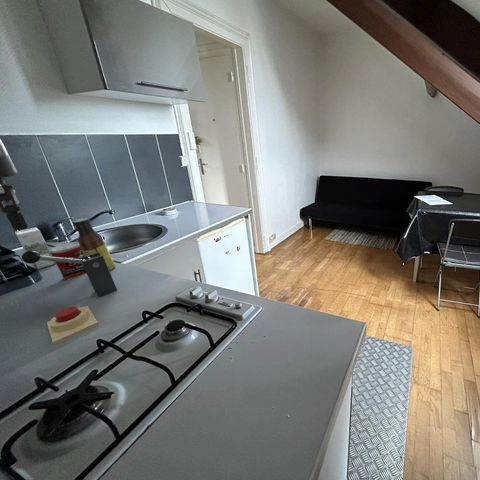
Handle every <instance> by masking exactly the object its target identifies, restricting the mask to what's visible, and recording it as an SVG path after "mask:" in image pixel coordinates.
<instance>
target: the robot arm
mask: <svg viewBox="0 0 480 480" xmlns="http://www.w3.org/2000/svg"><path fill="white" fill-rule="evenodd" d="M17 175H18V170H17V168H16V166H15V164H14V162H13V161H12V158H11V156H10V154H9V152H8V150H7V148H6V147H5V145H4V142H3V141H2V139H1V138H0V211H1V213H2V214H4V215H5V216H6V218H7V219H8V221H9V224H10V225H11V227H12V229H13V230H14V231H21V230H26V229H29V228H28V227H29V226H28V224H27V222H26V220H25V217H24V216H23V213H22V209H21V208H20V206H19V204H20V201H19V199H18V197H17V195H16V190H15V188H14V186H13V184H12V183H9V184H8V182H7V180H5V178H7V177H14V176H17Z"/></svg>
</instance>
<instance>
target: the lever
mask: <svg viewBox="0 0 480 480" xmlns="http://www.w3.org/2000/svg"><path fill="white" fill-rule="evenodd" d="M91 258H94V257H87V259H91ZM21 260H22V262H23V263H26V264H30V265H32V264H33V263H36V262H38V261H39V260H43V261H56V262H69V263H81V264H83V262H82V261H84V260H86V259H75V258H63V257H52V256H41V255H40V254H39V253H38V252H36V251H27V252H25V251H24V252H23V253H21Z"/></svg>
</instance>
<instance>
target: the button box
mask: <svg viewBox="0 0 480 480" xmlns="http://www.w3.org/2000/svg"><path fill="white" fill-rule="evenodd" d="M77 308H78V310H79V312H80V314H79V315H78V316H77V317H75V318H74V319H71V320H69V321H66V322H62V323H59V322H58V321H57V319H56V317H55V316H53V317H52V318H51V319H50V320H48V321H46V324H47V325H46V326H47V329H48V331H49V336H50V338H51V342H52V344H53V345H58V344H59V343H61V342H64V341H66V340H68V339H70V338H72V337H75V336H77V335H80V334H82V333H83V332H86V331H88V330H90V329H92V328H95V327H97V326H99V325H100V324H99V321H98V320H97V319H96V317H95V316H94V313H93V312H92V310H91V308H90V307H89V306H88V305H86V306H84V307H83V306H78V307H77Z"/></svg>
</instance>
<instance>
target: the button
mask: <svg viewBox="0 0 480 480" xmlns="http://www.w3.org/2000/svg"><path fill="white" fill-rule="evenodd" d="M79 314H80V312H79V310H78V307H77V306H73V305H72V306H68V307H65V308H62V309H61V310H58V312H56V313H55V314H54V317H56V319H57V321H58V322H59V323H62V322H66V321H69V320H71V319H74V318H75V317H77V316H78V315H79Z"/></svg>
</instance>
